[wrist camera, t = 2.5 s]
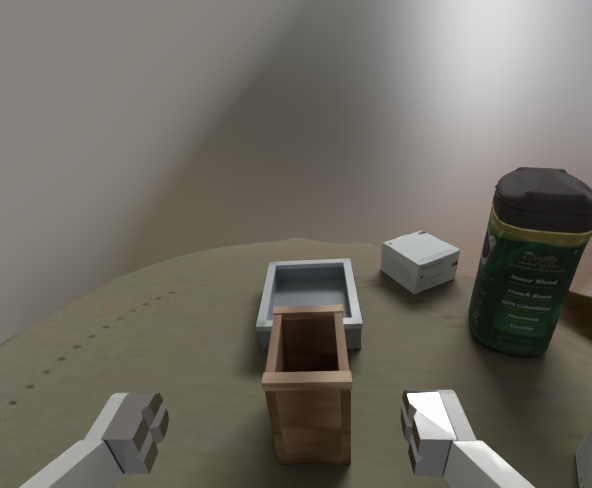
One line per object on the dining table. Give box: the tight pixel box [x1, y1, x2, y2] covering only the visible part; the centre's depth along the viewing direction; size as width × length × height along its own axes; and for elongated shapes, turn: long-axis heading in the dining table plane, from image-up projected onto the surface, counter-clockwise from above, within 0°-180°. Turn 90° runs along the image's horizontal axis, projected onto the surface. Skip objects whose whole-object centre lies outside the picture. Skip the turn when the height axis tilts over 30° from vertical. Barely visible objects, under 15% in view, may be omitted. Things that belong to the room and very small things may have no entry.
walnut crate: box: [262, 304, 352, 464], centre depth 28 cm, size 6×8×10 cm
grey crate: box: [256, 258, 362, 351], centre depth 43 cm, size 12×14×4 cm
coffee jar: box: [469, 167, 592, 356], centre depth 35 cm, size 10×8×19 cm
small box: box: [381, 231, 460, 294], centre depth 49 cm, size 8×8×5 cm
